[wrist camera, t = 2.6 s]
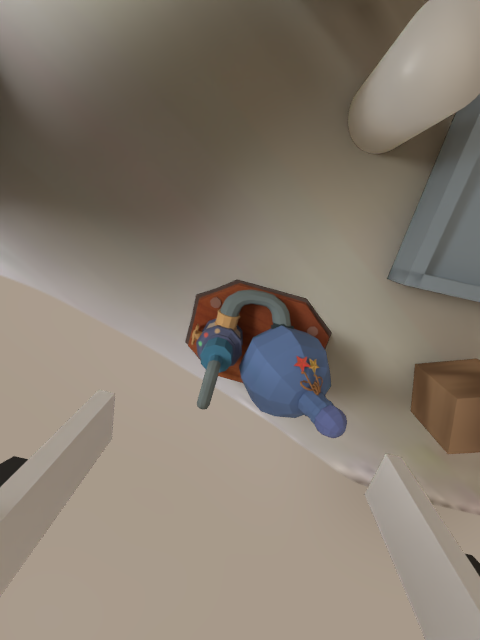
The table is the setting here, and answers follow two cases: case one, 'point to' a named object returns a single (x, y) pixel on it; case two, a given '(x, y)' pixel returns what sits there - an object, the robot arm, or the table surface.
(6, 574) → the robot arm
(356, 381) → the table surface
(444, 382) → the walnut cube
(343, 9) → the table surface
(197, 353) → the model
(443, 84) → the white egg
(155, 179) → the table surface
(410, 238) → the tray
